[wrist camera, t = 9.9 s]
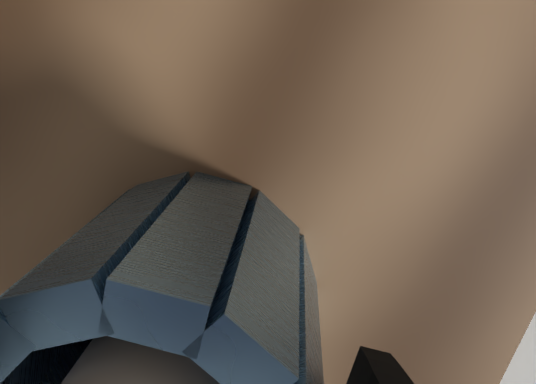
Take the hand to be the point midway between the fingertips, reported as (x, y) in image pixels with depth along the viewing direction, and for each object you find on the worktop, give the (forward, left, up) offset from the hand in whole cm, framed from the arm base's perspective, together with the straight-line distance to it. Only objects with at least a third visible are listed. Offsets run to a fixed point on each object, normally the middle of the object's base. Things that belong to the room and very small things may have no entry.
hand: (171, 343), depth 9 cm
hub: (0, 0, -2) cm, 2 cm away
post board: (0, 0, -3) cm, 3 cm away
